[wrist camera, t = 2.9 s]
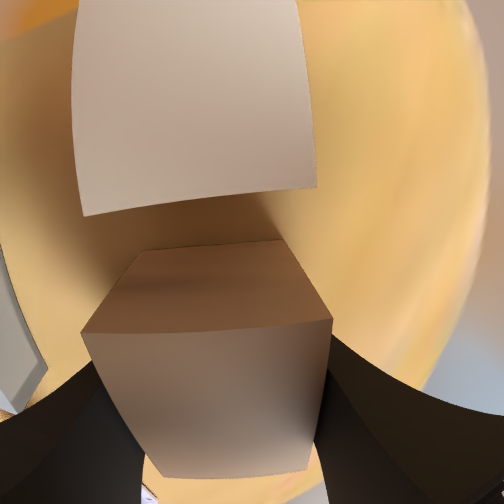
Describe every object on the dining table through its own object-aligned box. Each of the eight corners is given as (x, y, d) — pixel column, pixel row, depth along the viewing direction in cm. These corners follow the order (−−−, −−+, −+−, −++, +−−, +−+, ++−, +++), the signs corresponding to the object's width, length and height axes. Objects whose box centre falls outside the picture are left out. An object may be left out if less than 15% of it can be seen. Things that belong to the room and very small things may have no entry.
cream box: (276, 172, 8) (316, 187, 4) (144, 188, 8) (83, 216, 4) (258, 2, 6) (278, -73, 2) (135, 18, 6) (89, -43, 2)
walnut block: (283, 378, 11) (306, 470, 7) (176, 385, 10) (163, 477, 6) (283, 239, 9) (333, 317, 4) (142, 250, 8) (80, 332, 4)
